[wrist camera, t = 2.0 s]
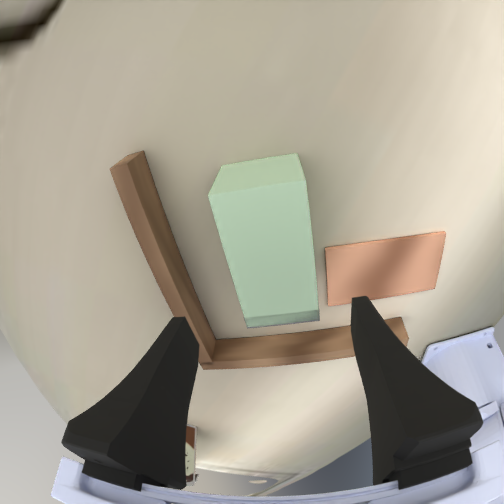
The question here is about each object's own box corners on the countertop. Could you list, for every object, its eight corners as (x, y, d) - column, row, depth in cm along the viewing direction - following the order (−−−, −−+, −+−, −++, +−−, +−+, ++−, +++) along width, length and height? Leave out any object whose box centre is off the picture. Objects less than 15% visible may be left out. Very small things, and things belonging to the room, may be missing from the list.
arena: (451, 111, 14) (473, 119, 12) (424, 320, 24) (432, 340, 22) (127, 155, 17) (109, 168, 15) (207, 348, 27) (203, 369, 25)
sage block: (297, 152, 17) (306, 179, 13) (312, 275, 22) (319, 320, 18) (221, 165, 17) (207, 195, 14) (251, 282, 22) (247, 328, 19)
